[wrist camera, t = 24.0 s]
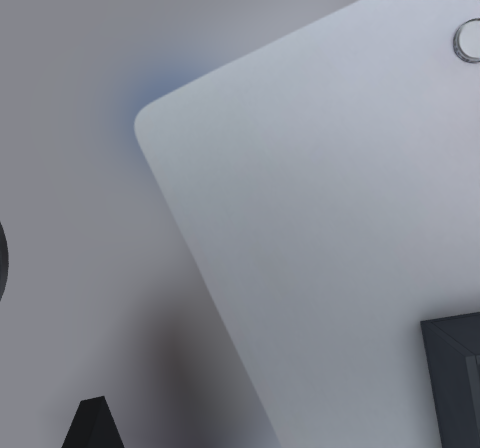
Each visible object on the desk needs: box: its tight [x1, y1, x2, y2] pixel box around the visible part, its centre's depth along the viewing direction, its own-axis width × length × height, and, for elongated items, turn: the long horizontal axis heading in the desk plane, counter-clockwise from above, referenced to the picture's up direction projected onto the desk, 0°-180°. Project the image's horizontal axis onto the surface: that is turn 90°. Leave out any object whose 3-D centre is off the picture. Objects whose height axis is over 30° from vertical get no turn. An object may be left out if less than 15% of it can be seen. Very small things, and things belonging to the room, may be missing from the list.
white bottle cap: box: [454, 18, 480, 63], centre depth 40 cm, size 4×4×1 cm
